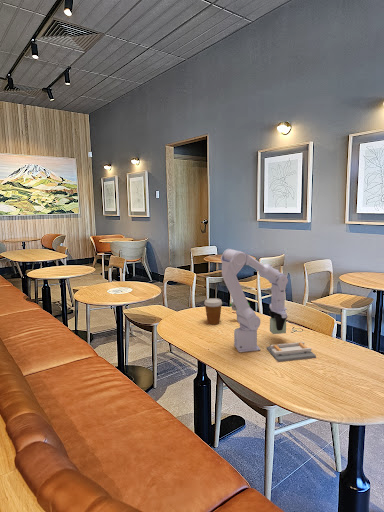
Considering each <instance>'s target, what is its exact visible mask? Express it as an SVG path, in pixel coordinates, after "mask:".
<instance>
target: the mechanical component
mask: <svg viewBox="0 0 384 512" xmlns="http://www.w3.org/2000/svg"><path fill="white" fill-rule="evenodd" d="M248 304H249V306H250V305H251V303H250V302H248ZM229 307H231V309H232V311H234V312H236V311H237V308H236V306H235V303H234V301H232V302H230V303H229ZM250 307H251V306H250Z"/></svg>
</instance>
